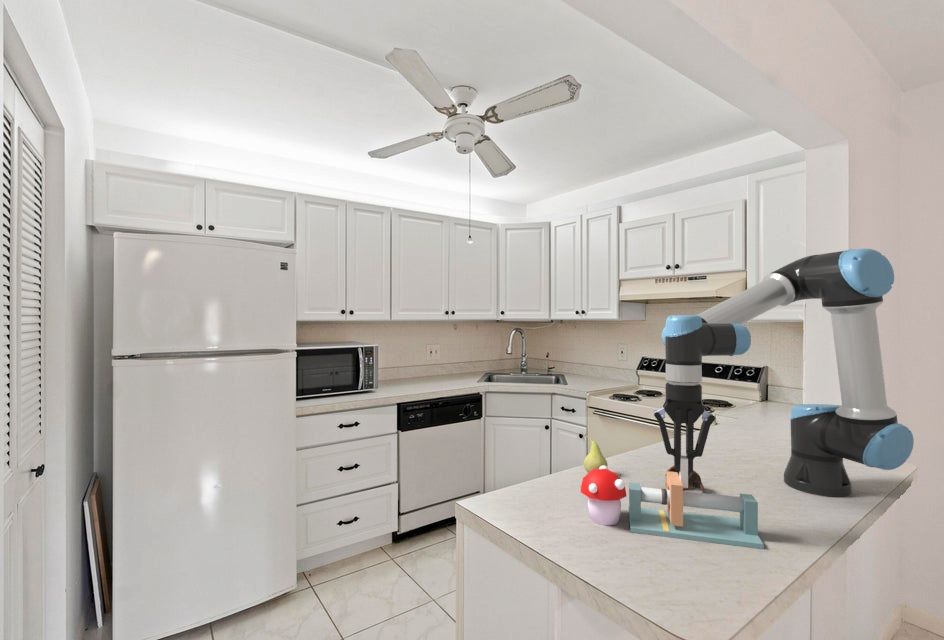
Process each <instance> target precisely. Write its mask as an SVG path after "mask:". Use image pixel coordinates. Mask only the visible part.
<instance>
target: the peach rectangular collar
mask: <svg viewBox="0 0 944 640" xmlns="http://www.w3.org/2000/svg"><path fill="white" fill-rule="evenodd" d="M665 475H666V476H665V485H666V484H667V488H666V490H670V505H668V504H667V505H666V510H667V512H668V515H669V519H670V523H671V525H674V526H682V527H683V512H684V506H683V491H684V490H683V485H682V482H681V480H680V478H679V475H678V473H677V472H669V471H667V470H666V472H665Z"/></svg>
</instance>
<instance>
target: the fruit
mask: <svg viewBox="0 0 944 640" xmlns="http://www.w3.org/2000/svg"><path fill="white" fill-rule="evenodd" d="M583 436H585V437H586V438H587V439H588V440H590V443H591V447H590V450H589V453H588V454H587V455H586V456H585V458H584V460H583V467H584V470H585V471H586V472H587V474H588V473H589V472H590V471H591V470H592V469H599V467H601V466H606V467H607V468H608V465H609V464H608V461H607V460H606V457H604V455H603V453H602V451H601V448H600V446H599V444H598V443H597V442H596V441H595V440H592V439H591V437H590V436H588V435H587V433H584V435H583Z"/></svg>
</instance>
